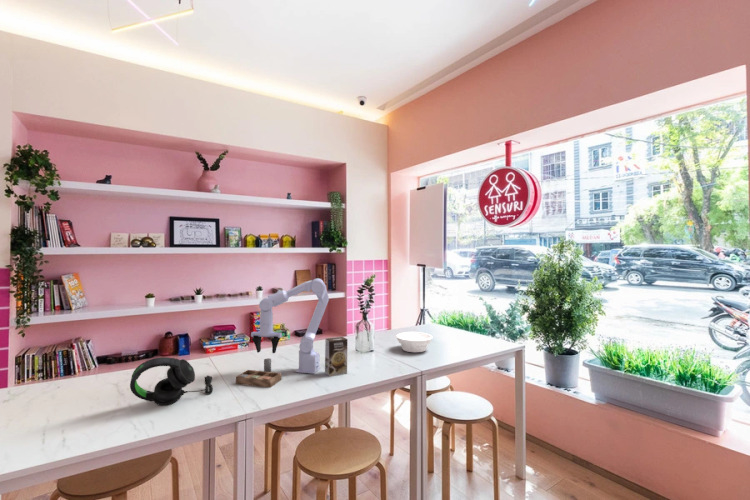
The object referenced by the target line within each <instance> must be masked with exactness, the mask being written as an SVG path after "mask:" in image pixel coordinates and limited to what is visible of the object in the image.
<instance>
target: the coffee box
mask: <svg viewBox="0 0 750 500" xmlns="http://www.w3.org/2000/svg"><path fill="white" fill-rule="evenodd" d="M324 339H325V344H324V348H325V349H324V356H325V357H324V373H325V374H326V375H327V376H328V377H334V376H340V375H344V374H345V375H346V374H348V339H347V338H346V337H343V336H336V337H328V338H324Z"/></svg>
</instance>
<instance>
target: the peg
mask: <svg viewBox="0 0 750 500" xmlns="http://www.w3.org/2000/svg"><path fill="white" fill-rule="evenodd" d="M263 371H266V372H272V358H270V357H269V358H264V359H263Z"/></svg>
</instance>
